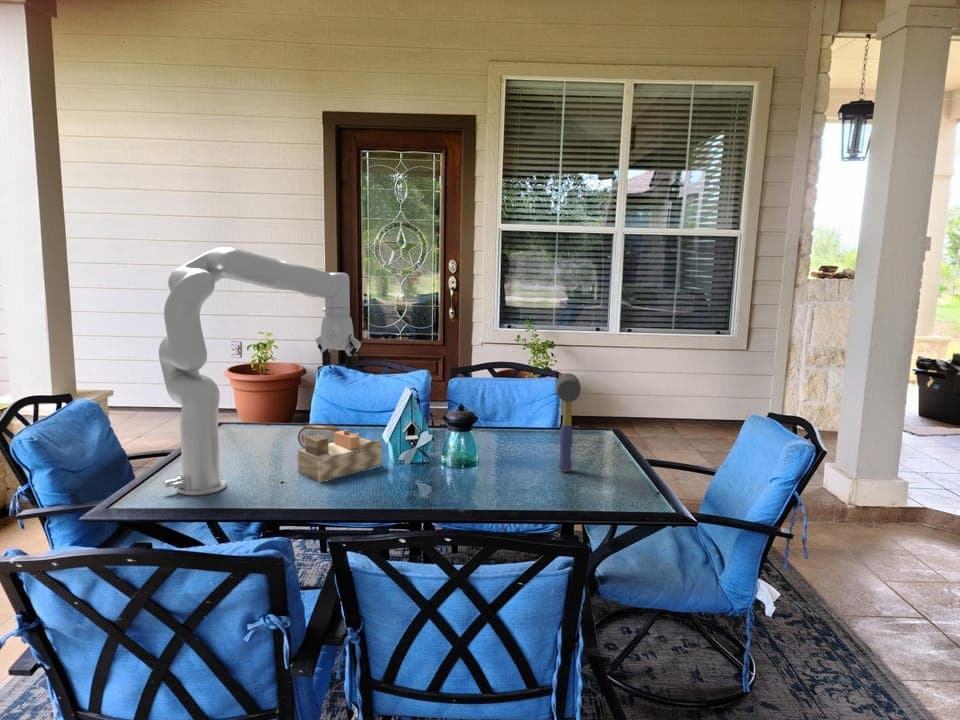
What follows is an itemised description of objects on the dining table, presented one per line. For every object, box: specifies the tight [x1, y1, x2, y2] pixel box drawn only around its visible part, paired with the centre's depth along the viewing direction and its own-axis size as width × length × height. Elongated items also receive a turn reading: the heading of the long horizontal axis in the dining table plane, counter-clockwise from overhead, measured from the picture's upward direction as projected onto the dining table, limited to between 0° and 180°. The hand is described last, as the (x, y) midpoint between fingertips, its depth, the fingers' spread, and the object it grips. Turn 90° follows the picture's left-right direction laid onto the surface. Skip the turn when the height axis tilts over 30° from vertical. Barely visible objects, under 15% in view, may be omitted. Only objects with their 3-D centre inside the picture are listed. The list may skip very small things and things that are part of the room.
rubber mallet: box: [555, 372, 582, 472], centre depth 200 cm, size 12×8×30 cm, turn 173°
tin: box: [297, 424, 342, 449], centre depth 219 cm, size 15×3×8 cm, turn 84°
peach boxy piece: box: [334, 429, 360, 449], centre depth 199 cm, size 3×9×5 cm, turn 46°
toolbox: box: [296, 432, 383, 483], centre depth 198 cm, size 22×12×8 cm, turn 136°
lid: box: [297, 435, 359, 462], centre depth 195 cm, size 14×12×6 cm
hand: (338, 367), depth 206 cm, fingers open, 9 cm apart
